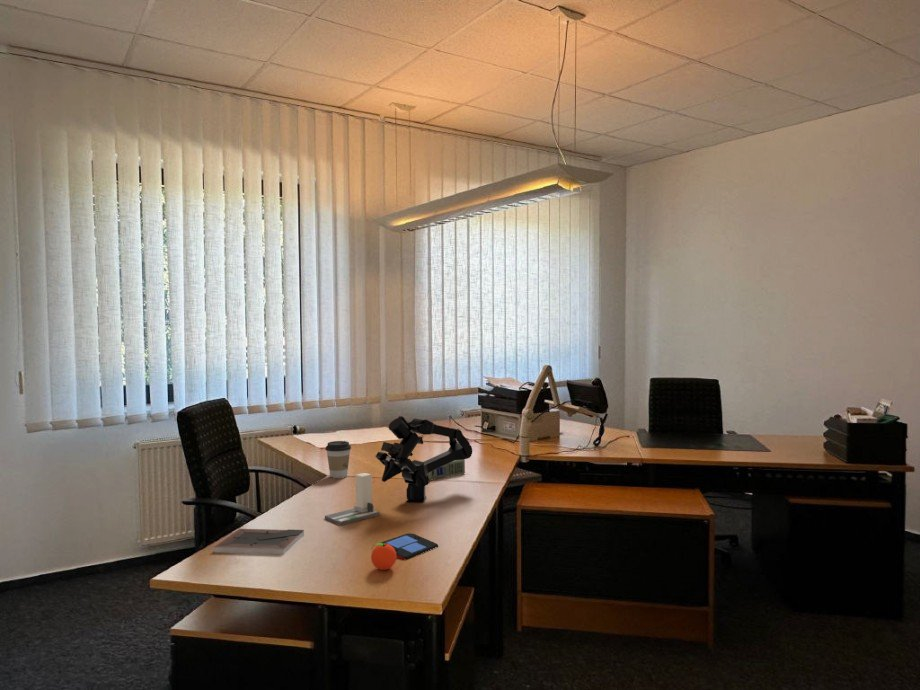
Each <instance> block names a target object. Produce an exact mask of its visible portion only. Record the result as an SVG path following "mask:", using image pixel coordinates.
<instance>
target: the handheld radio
mask: <svg viewBox="0 0 920 690" xmlns="http://www.w3.org/2000/svg"><path fill="white" fill-rule="evenodd" d="M465 461H466V459H464V460H455V461H452V462H450V463H448V464H446V465H444V466H442V467H440V468H438V469H435V470H433V471H431V472H429V473H428V474H427V477H428V478H429V481H431V480H432V479H433V480H436V479H437V478H438V479H443V478H449V477H454V476H459V475H458V474H460V475H465V474H466V467H465V464H466V462H465ZM464 473H465V474H464ZM453 475H454V476H453ZM448 476H449V477H448Z"/></svg>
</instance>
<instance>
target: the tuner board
mask: <svg viewBox="0 0 920 690" xmlns="http://www.w3.org/2000/svg"><path fill="white" fill-rule="evenodd" d="M373 516H374V517H376V516H380V511H377V510H375V509H374V510H373V512H370V511H368V512H364V513H361V512H359V511H356V510H354V508H350V509H346V510H342V511H338V512H335V513H330V514H327V515H324V519H325V520H326V521H330V522H331V523H334V524H336V525H338V526H343V525H347V524H351V523H355V522H358V521H362V520H366V519H369V518H373Z"/></svg>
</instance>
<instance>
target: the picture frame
mask: <svg viewBox="0 0 920 690" xmlns="http://www.w3.org/2000/svg"><path fill="white" fill-rule="evenodd" d="M304 535H305V530H304V529H267V528H266V529H264V528H263V529H261V528H260V529H259V528H238V529H237V530H235V531H234V532H233V533H231V534H230V535H229V536H227V537H225V538H224V539H223V540H222V541H220V542H219V543H218V544H216V545H215V546H214V547H213V552H214V553H226V554H227V553H231V554H254V555H255V554H257V555H258V554H261V555H286V553H287V552H288V551H290V550H291V548H292V547H293V546H294V545H296V544H297V543H298V542H299V540H301V539H302V538H303V537H304Z"/></svg>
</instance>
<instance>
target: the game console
mask: <svg viewBox="0 0 920 690" xmlns="http://www.w3.org/2000/svg"><path fill="white" fill-rule="evenodd" d="M380 543H383V544H384V543H385V544H389V545H391V546H392V547H393V548H394V549H395V551H396V558H398V559H400V558H401V560H404V559H406V560H409V559H411V557H412V558H414V557H417V556H420V555H421V553H422V554H424V553H426V552H425V551H427V552H429V551H431V550H430V549H432V550H434V549H433V548H435V547H437V548H439V544H438V543H437V542H434V541H431V540H429V539H427V538H424V537H422V536H419V535H418V534H415V533H412V532H411V533H410V532H409V533H404V534H402V535H399V536H396V537H393V538H390V539H387V540H385V541H382V542H380ZM435 549H436V548H435ZM428 550H429V551H428ZM423 552H424V553H423ZM416 555H417V556H416Z"/></svg>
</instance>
